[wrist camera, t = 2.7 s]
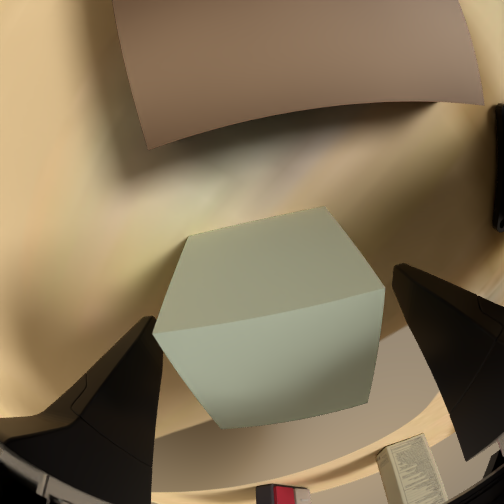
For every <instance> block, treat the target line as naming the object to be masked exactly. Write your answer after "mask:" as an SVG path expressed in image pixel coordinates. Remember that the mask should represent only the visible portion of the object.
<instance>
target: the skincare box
mask: <svg viewBox="0 0 504 504" xmlns="http://www.w3.org/2000/svg"><path fill="white" fill-rule="evenodd" d="M376 461H377V464H378V468H379V471H380V475H381V478H382V482H383V486H384V489H385V492H386V497H387V500H388V504H442V503H444V502H446V501H448V497H447V494H446V491H445V488H444V485H443V482H442V480H441V477H440V474H439V471H438V468H437V465H436V463H435V460H434V458H433V455H432V452H431V450H430V447H429V445H428V442H427V440H426V437H425V435H424V433H423V434H420V435H418V436H415V437H412V438H410V439H407V440H404V441H401V442H398V443H395V444H393V445H390V446H387V447H385V448H384V449H383V450H382V451H381V452H380V453H379V454H378V455H377V456H376Z"/></svg>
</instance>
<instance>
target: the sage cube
mask: <svg viewBox="0 0 504 504" xmlns="http://www.w3.org/2000/svg"><path fill="white" fill-rule="evenodd" d="M384 297H385V287H384V285H383V284H382V282H381V281H380V279H379V278H378V276H377V275H376V273H375V272H374V271H373V269H372V268H371V266H370V265H369V264H368V262H367V261H366V259H365V258H364V257H363V255H362V254H361V252H360V251H359V250H358V248H357V247H356V246H355V244H354V243H353V242H352V240H351V239H350V238H349V236H348V235H347V234H346V232H345V231H344V230H343V229H342V227H341V226H340V225H339V223H338V222H337V221H336V220H335V218H334V217H333V216H332V214H331V213H330V212H329V211H328V209H327V208H326V207H325V206H323V207H318V208H313V209H308V210H303V211H298V212H293V213H289V214H284V215H279V216H274V217H270V218H265V219H261V220H256V221H252V222H247V223H243V224H238V225H234V226H229V227H225V228H221V229H217V230H212V231H208V232H204V233H200V234H195V235H191V236H188V239H187V241H186V244H185V246H184V249H183V251H182V254H181V256H180V259H179V261H178V264H177V266H176V269H175V272H174V274H173V277H172V280H171V282H170V285H169V288H168V290H167V293H166V296H165V298H164V301H163V304H162V307H161V310H160V312H159V315H158V318H157V321H156V324H155V327H154V330H153V333H152V334H153V336H154V337H155V339H156V340H157V342H158V344H159V345H160V347H161V348H162V350H163V351H164V353H165V354H166V356H167V357H168V359H169V360H170V362H171V363H172V365H173V366H174V368H175V369H176V371H177V372H178V374H179V375H180V376H181V378H182V379H183V381H184V382H185V383H186V385H187V386H188V388H189V389H190V390H191V392H192V393H193V394H194V396H195V397H196V398H197V400H198V401H199V402H200V404H201V405H202V406H203V407H204V409H205V410H206V411H207V412H208V414H209V415H210V416H211V417H212V419H213V420H214V421H215V422H216V424H217V425H218V426H219V427H220V428H221V429H232V428H242V427H252V426H262V425H269V424H276V423H282V422H289V421H294V420H300V419H305V418H310V417H315V416H320V415H323V414H328V413H332V412H337V411H340V410H344V409H348V408H352V407H355V406H358V405H362V404H365V403H367V402H368V399H369V394H370V389H371V384H372V380H373V375H374V370H375V365H376V358H377V352H378V347H379V340H380V333H381V325H382V317H383V307H384Z"/></svg>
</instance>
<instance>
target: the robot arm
mask: <svg viewBox="0 0 504 504" xmlns="http://www.w3.org/2000/svg"><path fill="white" fill-rule="evenodd" d="M496 119H497V138H498V168H497V187H496V199H495V208H494V216H493V228H494V229H495V230H497V231H498V232H504V104H501V103H499V104H498V105H497V107H496ZM392 287H393V290H394V293H395V295H396V297H397V300H398V302H399V305H400V307H401V309H402V312H403V314H404V317H405V319H406V322H407V324H408V326H409V328H410V329H411V331H412V333H413V335H414V337H415V339H416V341H417V343H418V345H419V347H420V349H421V351H422V353H423V355H424V357H425V359H426V361H427V364H428V366H429V368H430V370H431V372H432V374H433V376H434V379H435V381H436V383H437V385H438V388H439V390H440V393H441V395H442V397H443V400H444V402H445V405H446V407H447V410H448V412H449V414H450V418H451V420H452V423H453V426H454V428H455V431H456V434H457V437H458V440H459V443H460V446H461V449H462V452H463V455H464V458H465V461H468V460H470V459H472V458H473V457H475V456H476V455H478V454H479V453H481V452H482V451H484V450H485V449H487V448H488V447H490V446H491V445H492V444H494V443H495V442H498V444H499V447H500V450H499V451H497V452H496V453H495V454H493V455H492V456H491V458H490V461H489V464H488V466H487V469H486V472H485V474H484V476H483V479H482V480H481V481H479V482H478V483H476V484H474V485H473V486H471V487H470V488H468V489H467V490H465V491H463V492H462V493H460V494H458V495H457V496H455V497H453V498H451V499H450V500H448V501H446V502H444V503H442V504H504V307H503V306H500V305H498V304H495V303H493V302H491V301H489V300H487V299H484V298H482V297H480V296H477V295H476V294H474V293H472V292H469V291H467V290H465V289H463V288H461V287H458V286H456V285H454V284H452V283H449V282H447V281H445V280H443V279H440V278H438V277H436V276H434V275H431V274H429V273H427V272H424V271H422V270H419V269H417V268H415V267H412V266H410V265H408V264H405V263H402V264H399V265H395V266H394V269H393V281H392ZM156 321H157V320H156V319H155V317H153V316H148V317H143V318H142V319H141V320H140V321H139V322H138V323H137V324H136V325H135V326H134V327H132V328H131V329H130V330H129V331H128V332H127V333H126V334H125V335H124V336H123V337H122V338H121V339H120V340H119V341H118V342H117V343H116V344H115V345H114V346H113V347H112V348H111V349H110V350H109V351H108V352H107V353H106V354H104V355H103V356H102V357H101V358H100V359H99V360H98V361H97V362H96V363H95V364H94V365H93V366H92V367H91V368H90V369H89V370H88V371H87V373H85V374H84V375H83V376H82V377H81V378H80V379H79V380H78V381H77V382H76V383H75V384H74V385H73V386H72V387H71V388H70V389H68V390H67V391H66V392H65V393H64V394H63V395H62V396H61V397H59V398H58V399H57V400H56V401H55V402H54V403H53V404H51V405H50V406H49V407H48V408H47V409H46V410H44V411H43V412H41V413H40V414H37V415H34V416H27V417H12V418H0V448H2V449H3V450H2V453H1V456H0V504H151V484H152V482H151V481H152V468H151V467H152V464H153V463H152V462H153V450H154V438H155V427H156V418H157V409H158V400H159V392H160V385H161V377H162V368H163V350H162V348H161V347H160V345H159V344H158V342H157V340H156V339H155V337H154V336H153V334H152V333H153V330H154V327H155V324H156Z"/></svg>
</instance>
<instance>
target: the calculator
mask: <svg viewBox="0 0 504 504" xmlns="http://www.w3.org/2000/svg"><path fill="white" fill-rule="evenodd" d="M256 504H311V497H310V490H309V489H307V488H301V487H292V486H284V485H277V484H268V485H263V486H257V487H256Z"/></svg>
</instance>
